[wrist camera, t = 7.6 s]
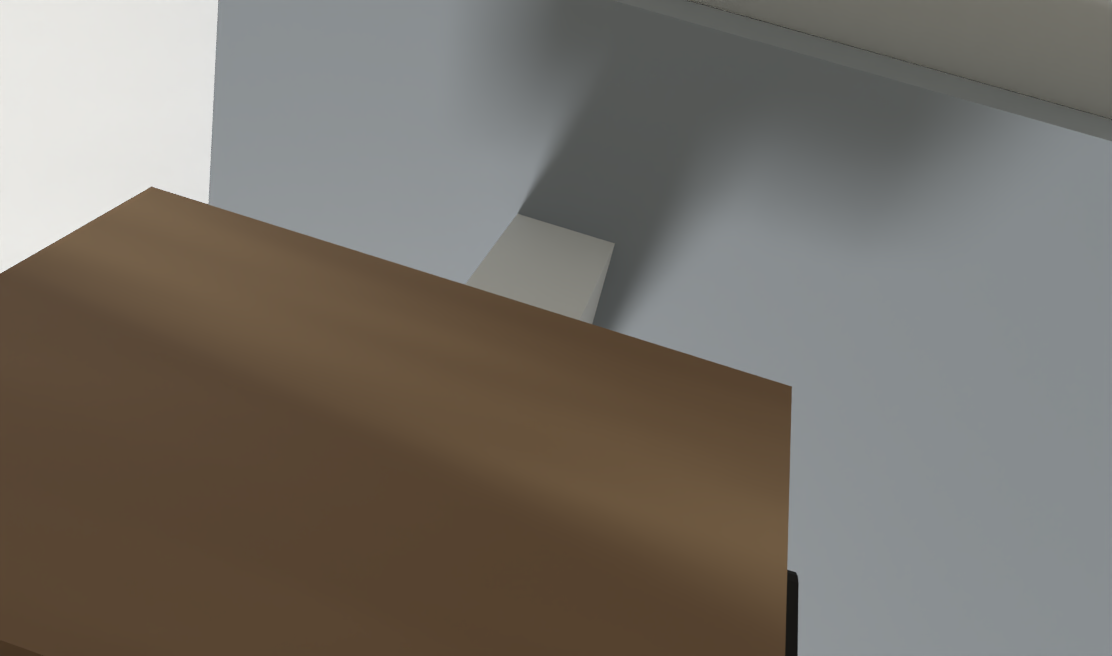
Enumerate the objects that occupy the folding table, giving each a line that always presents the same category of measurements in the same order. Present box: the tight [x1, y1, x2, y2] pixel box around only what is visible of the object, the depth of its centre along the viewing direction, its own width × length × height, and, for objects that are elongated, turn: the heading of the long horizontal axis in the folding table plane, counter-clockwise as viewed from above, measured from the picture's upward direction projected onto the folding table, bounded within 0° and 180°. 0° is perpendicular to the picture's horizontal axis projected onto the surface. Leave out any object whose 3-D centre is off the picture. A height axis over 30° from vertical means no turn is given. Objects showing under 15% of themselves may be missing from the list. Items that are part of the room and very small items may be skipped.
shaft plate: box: [209, 0, 1112, 656], centre depth 15 cm, size 24×14×6 cm, turn 77°
